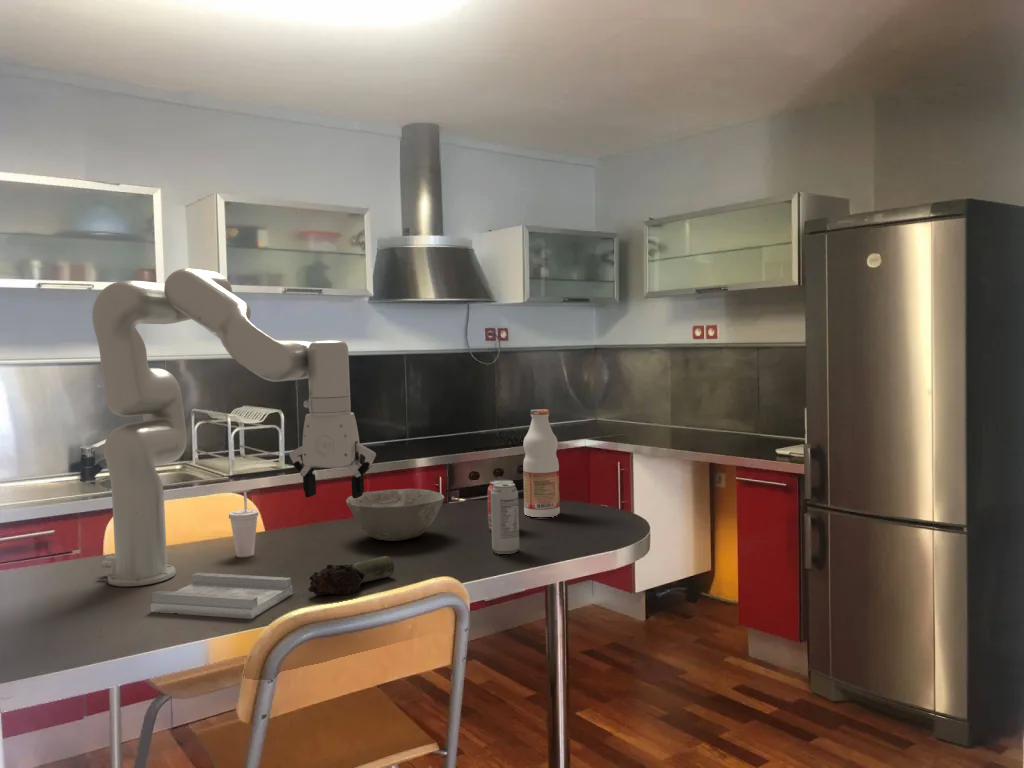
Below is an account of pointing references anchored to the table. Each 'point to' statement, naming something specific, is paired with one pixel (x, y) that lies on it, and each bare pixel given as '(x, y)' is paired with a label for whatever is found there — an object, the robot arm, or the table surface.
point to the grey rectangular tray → (224, 595)
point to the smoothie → (244, 529)
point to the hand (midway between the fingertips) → (333, 496)
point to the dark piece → (350, 576)
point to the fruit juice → (541, 468)
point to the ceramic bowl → (396, 512)
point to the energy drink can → (505, 518)
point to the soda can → (490, 497)
